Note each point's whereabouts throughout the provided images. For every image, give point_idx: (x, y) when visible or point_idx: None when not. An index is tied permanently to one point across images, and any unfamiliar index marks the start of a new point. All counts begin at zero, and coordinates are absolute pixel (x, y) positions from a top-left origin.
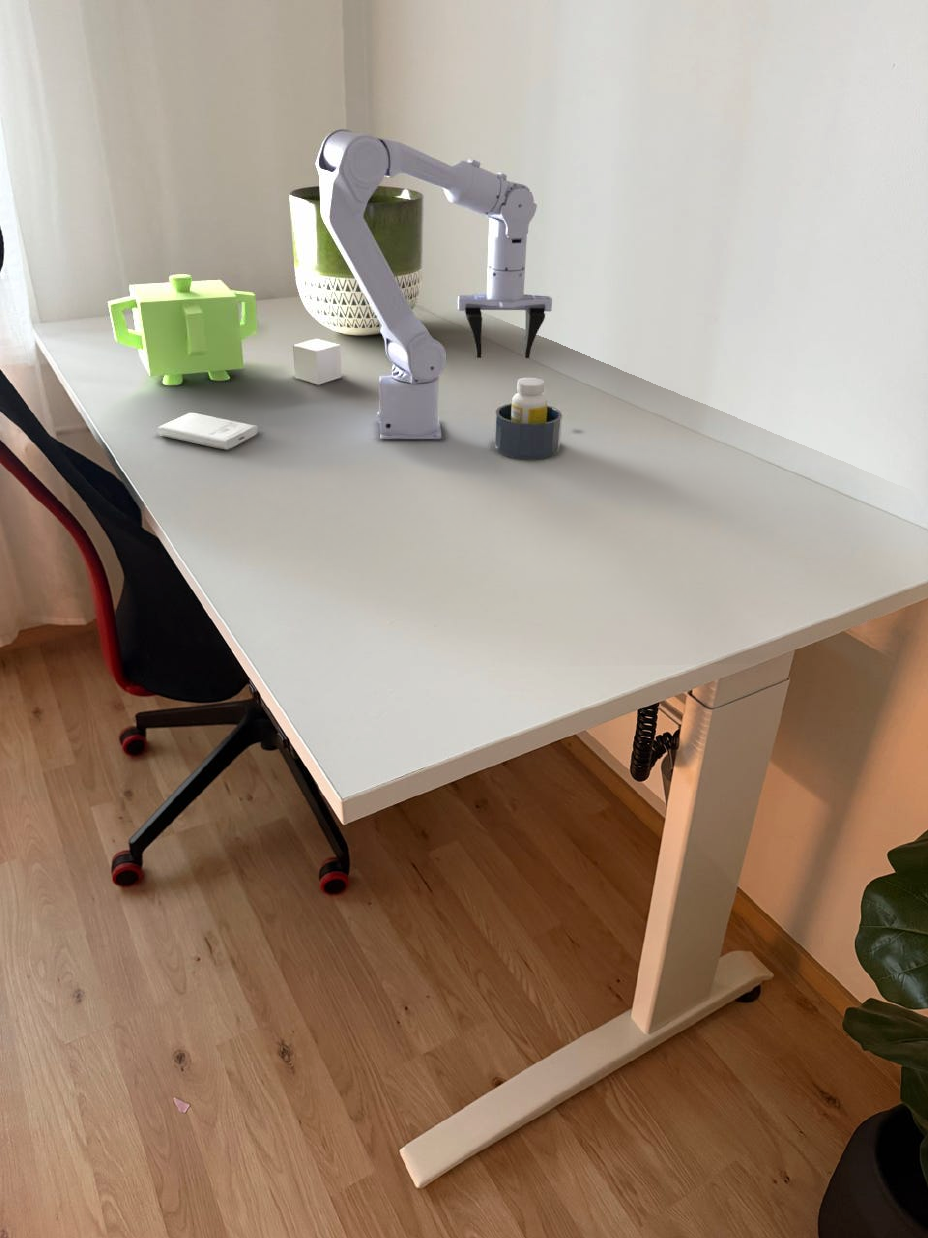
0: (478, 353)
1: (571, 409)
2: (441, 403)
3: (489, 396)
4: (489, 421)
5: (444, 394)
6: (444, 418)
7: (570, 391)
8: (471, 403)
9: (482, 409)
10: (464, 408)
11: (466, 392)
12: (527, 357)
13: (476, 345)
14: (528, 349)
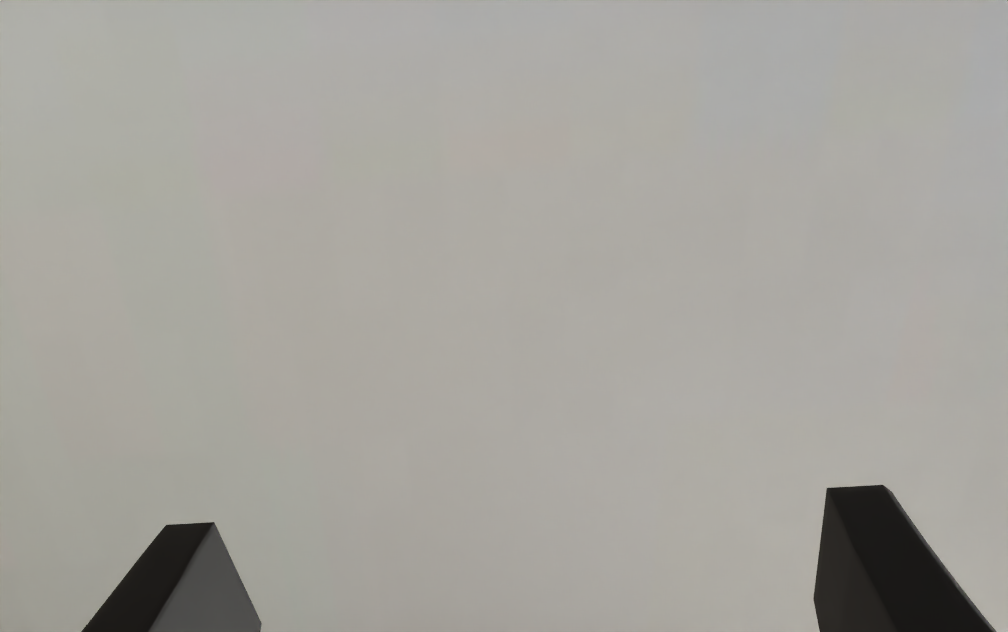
0: (893, 527)
1: (44, 368)
2: (940, 395)
3: (597, 517)
4: (616, 84)
5: None
6: (994, 112)
7: None
8: (725, 410)
9: (657, 318)
10: (788, 325)
11: (737, 559)
12: (177, 525)
13: (987, 621)
14: (125, 612)
